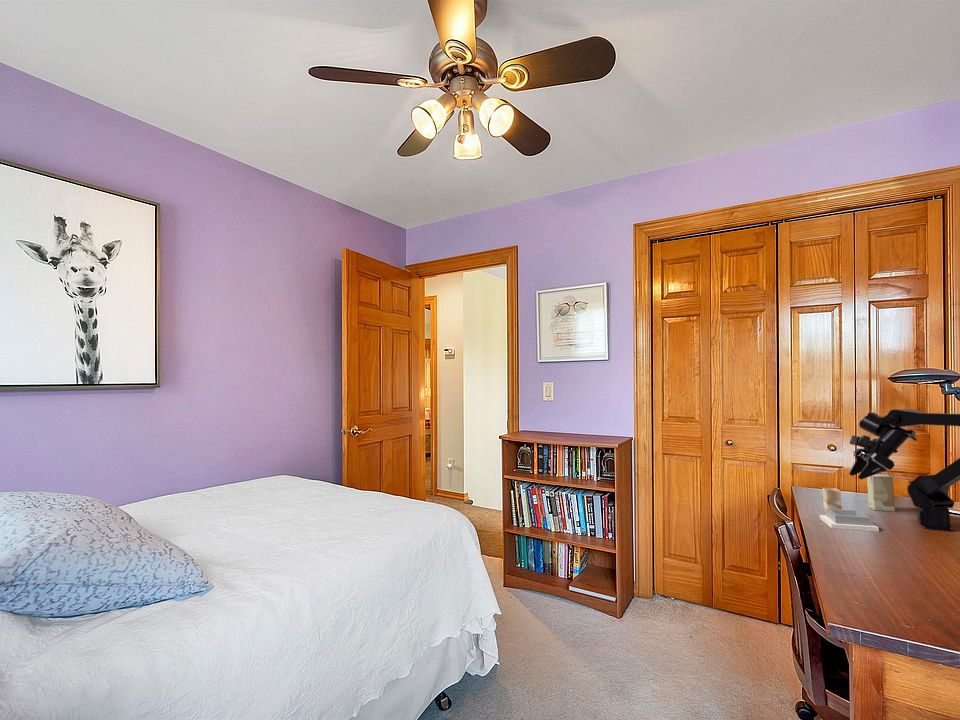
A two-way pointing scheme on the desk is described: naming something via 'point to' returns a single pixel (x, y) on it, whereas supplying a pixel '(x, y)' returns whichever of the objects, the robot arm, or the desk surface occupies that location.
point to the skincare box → (880, 492)
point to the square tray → (848, 520)
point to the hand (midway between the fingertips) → (854, 476)
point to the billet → (831, 499)
